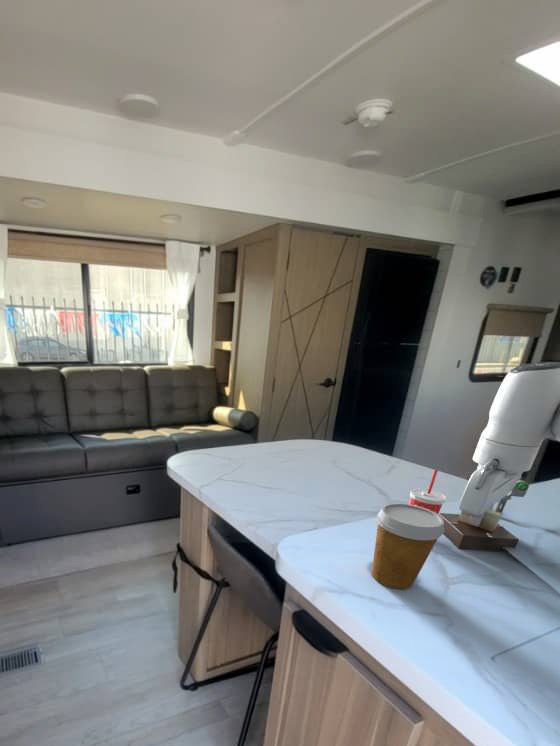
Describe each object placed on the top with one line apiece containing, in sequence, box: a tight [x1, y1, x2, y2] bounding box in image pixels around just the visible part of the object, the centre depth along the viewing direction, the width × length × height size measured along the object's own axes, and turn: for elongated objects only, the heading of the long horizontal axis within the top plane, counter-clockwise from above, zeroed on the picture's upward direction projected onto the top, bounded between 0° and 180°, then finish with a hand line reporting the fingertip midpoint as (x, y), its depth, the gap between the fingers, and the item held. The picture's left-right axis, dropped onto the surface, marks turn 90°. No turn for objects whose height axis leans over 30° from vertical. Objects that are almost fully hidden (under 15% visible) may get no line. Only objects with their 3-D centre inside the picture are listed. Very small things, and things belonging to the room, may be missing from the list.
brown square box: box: [438, 512, 520, 553], centre depth 81 cm, size 10×10×3 cm
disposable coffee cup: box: [371, 502, 445, 590], centre depth 65 cm, size 10×10×12 cm
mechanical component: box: [493, 475, 530, 514], centre depth 90 cm, size 3×10×10 cm, turn 166°
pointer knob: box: [458, 509, 503, 532], centre depth 80 cm, size 6×2×4 cm, turn 39°
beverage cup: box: [408, 469, 448, 514], centre depth 80 cm, size 6×6×14 cm
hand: (477, 522), depth 81 cm, fingers closed on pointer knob, 2 cm apart
